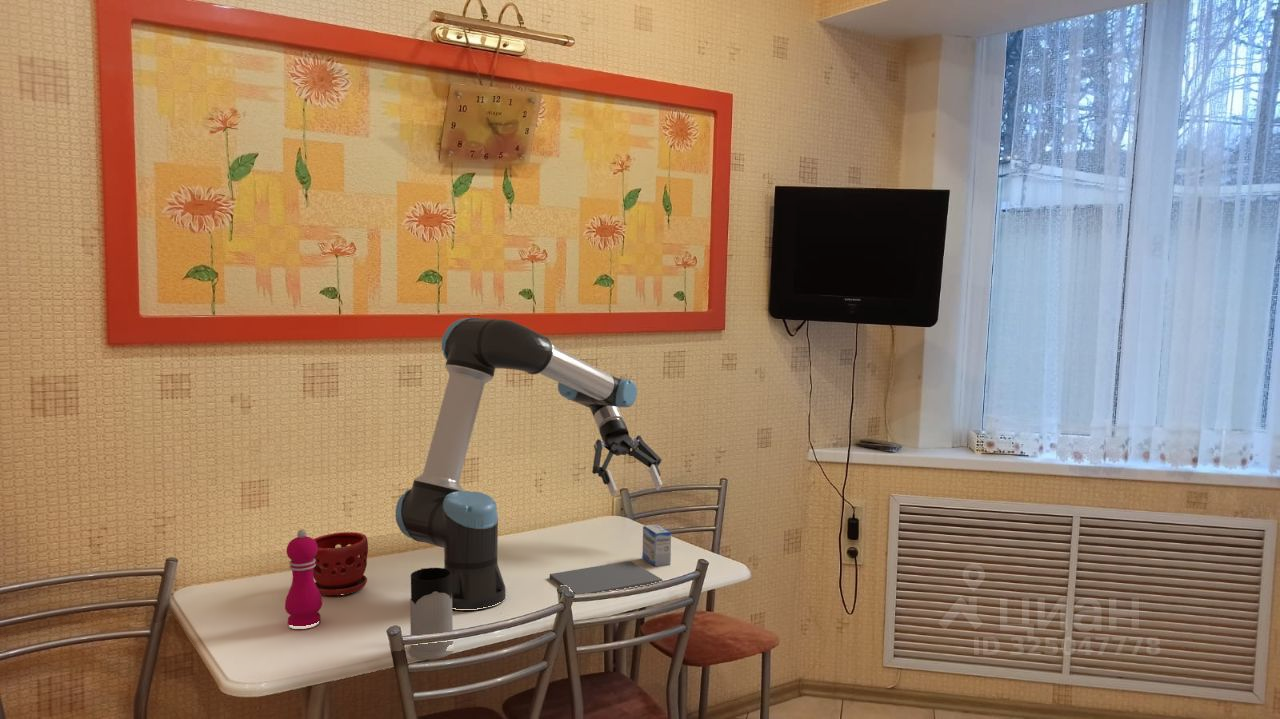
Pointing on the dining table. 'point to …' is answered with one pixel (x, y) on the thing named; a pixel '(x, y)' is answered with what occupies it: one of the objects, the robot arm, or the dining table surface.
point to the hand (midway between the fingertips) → (637, 490)
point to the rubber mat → (605, 577)
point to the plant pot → (340, 563)
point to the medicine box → (656, 545)
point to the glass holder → (431, 610)
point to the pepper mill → (303, 582)
